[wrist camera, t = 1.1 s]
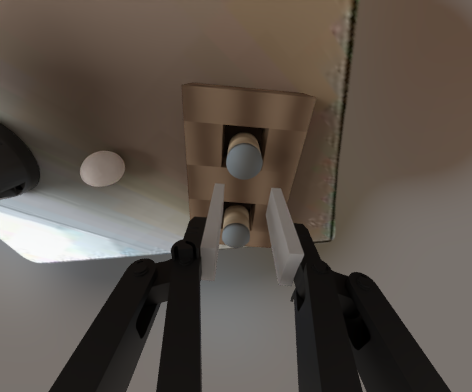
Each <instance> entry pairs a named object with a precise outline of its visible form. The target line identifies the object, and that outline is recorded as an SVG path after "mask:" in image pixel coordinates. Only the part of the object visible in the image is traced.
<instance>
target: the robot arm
mask: <svg viewBox="0 0 472 392" xmlns="http://www.w3.org/2000/svg"><path fill="white" fill-rule="evenodd" d="M38 180H39V168H38V165H37V162H36V160H35V158H34V156H33V155H32V153H31V152H30V150H29V149H28V148H27V147H26V145H25V144H24V143H23V142H22V141H21V140H20V139H19V138H18V137H17V136H16V135H15V134H13V133H12V132H11V131H10V130H8V129H7V128H6V127H4V126H3V125H1V124H0V200H2V199H7V198H11V197H15V196H18V195H21V194H23V193H25V192H27V191H28V190H30V189H32V188H33V187H35V186H36V184H37V183H38ZM224 186H225V184H218V183H215V185H214V190H213V194H212V199H211V203H210V207H209V212H208V216H207V217H196V216H194V217H193V218H192V219H191V220H190V221H189V224H188V227H187V230H186V233H185V236H184V239H183V240H180V241H178V242H176V243H175V244H174V245H173V246H172V248H171V254H172V259H170V260H168V261H165V262H159V263H154V261H153V260H151V259H140V260H137V261H135V262H134V263H132V264H131V265H130V266H129V267H128V268H127V270H126V271H125V273H124V274H123V276H122V278H121V279H120V281H119V282H118V284H117V285H116V287H115V289H114V290H113V292H112V293H111V295H110V296H109V298H108V300H107V301H106V303H105V304H104V306H103V307H102V309H101V311H100V312H99V314H98V315H97V317H96V318H95V320H94V322H93V323H92V325H91V326H90V328H89V329H88V331H87V332H86V334H85V336H84V337H83V339H82V340H81V342H80V343H79V345H78V346H77V348H76V350H75V351H74V353H73V354H72V356H71V357H70V359H69V361H68V362H67V364H66V365H65V367H64V368H63V370H62V371H61V373H60V375H59V376H58V378H57V380H56V381H55V383H54V384H53V386H52V387H51V389H50V390H49V392H126V390H127V388H128V386H129V383H130V380H131V378H132V375H133V373H134V370H135V368H136V365H137V363H138V360H139V358H140V355H141V353H142V350H143V348H144V345H145V343H146V340H147V337H148V335H149V332H150V330H151V327H152V325H153V322H154V320H155V317H156V315H157V312H158V310H159V307H160V304H161V303H162V302H165V301H168V302H167V310H166V318H165V326H164V335H163V342H162V350H161V358H160V366H159V374H158V382H157V390H156V392H202V369H201V316H200V315H201V314H200V313H201V311H200V281H201V280H207V281H214V280H215V273H216V265H217V257H218V249H219V240H220V232H221V224H222V216H223V203H224ZM266 219H267V224H268V230H269V235H270V241H271V246H272V252H273V257H274V263H275V268H276V274H277V279H278V285H285V286H292V283H293V281H294V283H295V286H296V288H295V290H294V292H293V295H292V297H291V301H292V302H293V299H294V305H295V325H296V345H297V365H298V385H299V392H363V391H362V387H361V383H360V379H359V375H360V377H361V380H362V382H363V384H364V387H365V389H366V391H367V392H451V391H450V389H449V388H448V387H447V385H446V384H445V382H444V381H443V379H442V378H441V377H440V375H439V374H438V373H437V371H436V370H435V368H434V367H433V365H432V364H431V362H430V361H429V359H428V358H427V356H426V355H425V354H424V352H423V351H422V349H421V348H420V347H419V345H418V343H417V342H416V341H415V339H414V338H413V336H412V335H411V333H410V332H409V331H408V329H407V328H406V327H405V325H404V324H403V322H402V321H401V319H400V318H399V316H398V315H397V313H396V312H395V310H394V309H393V308H392V306H391V305H390V303H389V302H388V301H387V299H386V298H385V296H384V295H383V293H382V292H381V290H380V289H379V288H378V286H377V285H376V283H375V282H373V280H372V279H370V278H369V277H368V276H366V275H364V274H362V273H358V272H354V273H351V274H350V275H349V277H348V276H346V275H342V274H340V273H337V272H334V271H332V270H331V268H330V267H329V266H328V265H327V263H325V262H324V261H322V260H321V259H320V257H319V254H318V252H317V249H316V247H315V245H314V243H313V241H312V238H311V237H310V233H309V231H308V229H307V228H306V227H305V226H304V225H303V224H296V223H293V221H292V218H291V216H290V213H289V210H288V207H287V204H286V202H285V199H284V196H283V193H282V190H281V188H271V192H270V197H269V202H268V206H267V211H266ZM357 370H358V371H357ZM358 373H359V375H358Z"/></svg>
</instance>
